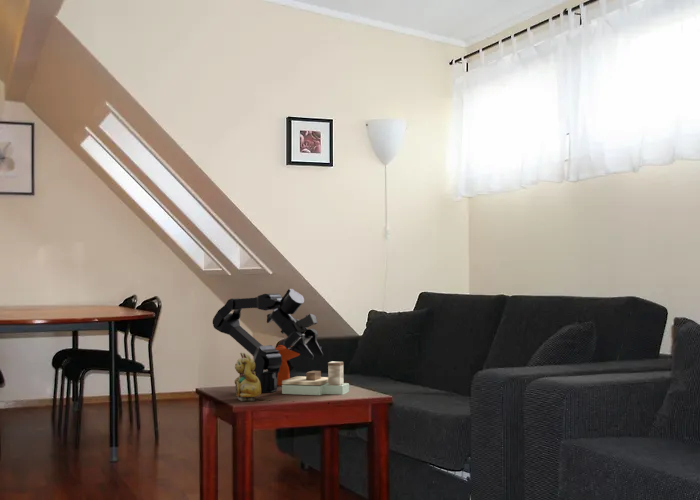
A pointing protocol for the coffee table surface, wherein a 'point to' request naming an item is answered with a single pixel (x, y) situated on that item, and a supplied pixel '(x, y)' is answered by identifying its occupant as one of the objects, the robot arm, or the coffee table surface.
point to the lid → (307, 379)
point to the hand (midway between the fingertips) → (317, 356)
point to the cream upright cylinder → (335, 373)
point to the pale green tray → (315, 389)
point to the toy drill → (285, 363)
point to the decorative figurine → (246, 379)
